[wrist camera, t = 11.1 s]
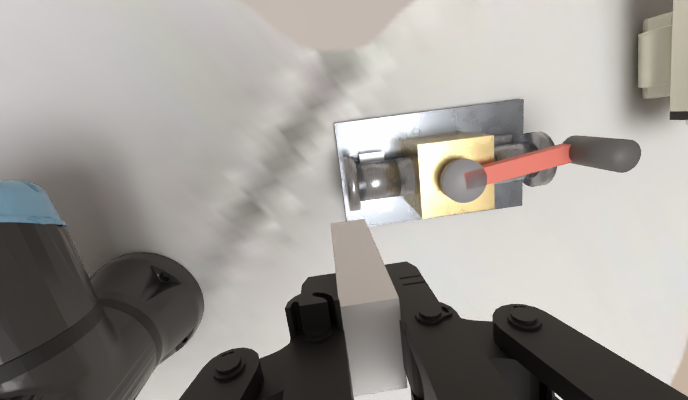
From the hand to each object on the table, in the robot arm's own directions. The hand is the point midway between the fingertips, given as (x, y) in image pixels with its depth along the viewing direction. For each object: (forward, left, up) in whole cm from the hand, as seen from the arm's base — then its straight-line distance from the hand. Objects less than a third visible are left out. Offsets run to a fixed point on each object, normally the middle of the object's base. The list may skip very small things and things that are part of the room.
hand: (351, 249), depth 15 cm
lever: (+18, -1, -19) cm, 26 cm away
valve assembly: (+13, -2, -29) cm, 32 cm away
